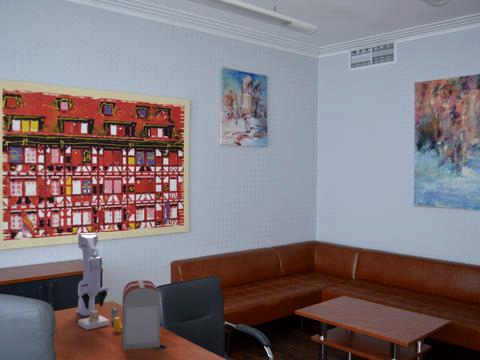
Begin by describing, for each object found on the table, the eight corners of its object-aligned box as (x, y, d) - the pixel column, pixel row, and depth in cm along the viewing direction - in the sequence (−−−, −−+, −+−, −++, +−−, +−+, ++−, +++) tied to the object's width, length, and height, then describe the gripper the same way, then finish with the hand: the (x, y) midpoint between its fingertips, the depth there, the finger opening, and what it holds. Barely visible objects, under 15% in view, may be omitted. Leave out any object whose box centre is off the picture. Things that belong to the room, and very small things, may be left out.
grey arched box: (122, 349, 210) (123, 289, 210) (121, 336, 227) (122, 280, 227) (160, 347, 215) (161, 287, 214) (156, 333, 232) (157, 278, 231)
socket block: (78, 324, 242) (78, 319, 242) (100, 320, 250) (100, 315, 250) (86, 329, 235) (87, 324, 235) (109, 324, 243) (109, 320, 243)
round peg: (110, 322, 247) (110, 308, 247) (115, 320, 250) (116, 307, 249) (113, 323, 245) (113, 310, 245) (118, 322, 247) (119, 309, 247)
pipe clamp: (139, 332, 234) (139, 319, 233) (133, 335, 230) (134, 321, 229) (118, 328, 238) (119, 315, 238) (113, 331, 234) (113, 318, 234)
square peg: (89, 324, 242) (89, 311, 242) (95, 323, 245) (95, 310, 244) (92, 326, 240) (92, 312, 240) (98, 325, 242) (98, 311, 242)
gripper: (84, 284, 234) (83, 311, 235) (111, 280, 244) (110, 306, 244) (78, 281, 239) (77, 308, 240) (104, 277, 249) (104, 303, 250)
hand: (94, 307), depth 242 cm, fingers open, 7 cm apart
